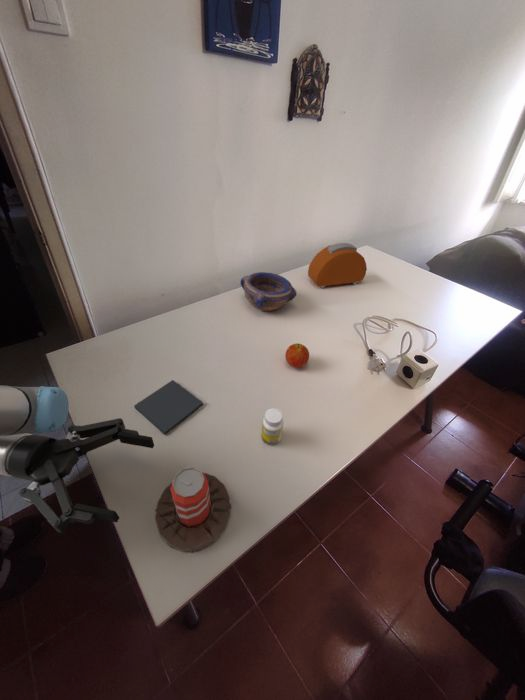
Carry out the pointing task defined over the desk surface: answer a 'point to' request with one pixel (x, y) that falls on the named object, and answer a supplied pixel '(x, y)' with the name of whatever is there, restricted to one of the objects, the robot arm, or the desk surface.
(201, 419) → the desk surface
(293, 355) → the fruit
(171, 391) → the mat
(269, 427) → the supplement bottle
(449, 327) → the desk surface
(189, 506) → the beverage can
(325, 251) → the orange toaster
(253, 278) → the bowl
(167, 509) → the socket
